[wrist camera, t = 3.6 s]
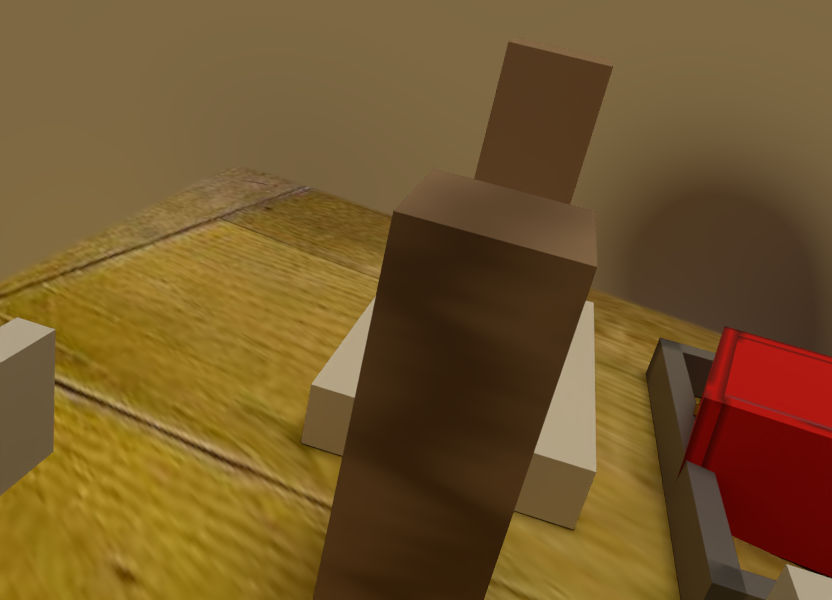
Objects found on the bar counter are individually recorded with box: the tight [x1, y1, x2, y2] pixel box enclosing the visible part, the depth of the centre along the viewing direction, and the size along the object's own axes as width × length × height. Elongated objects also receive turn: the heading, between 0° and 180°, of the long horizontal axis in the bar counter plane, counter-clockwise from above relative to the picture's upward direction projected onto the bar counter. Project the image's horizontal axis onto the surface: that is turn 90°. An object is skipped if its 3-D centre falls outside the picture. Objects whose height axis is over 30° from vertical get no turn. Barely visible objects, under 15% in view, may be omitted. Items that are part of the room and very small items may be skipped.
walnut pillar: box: [313, 169, 597, 600], centre depth 22 cm, size 5×5×14 cm
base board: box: [301, 37, 613, 530], centre depth 35 cm, size 12×18×17 cm, turn 167°
